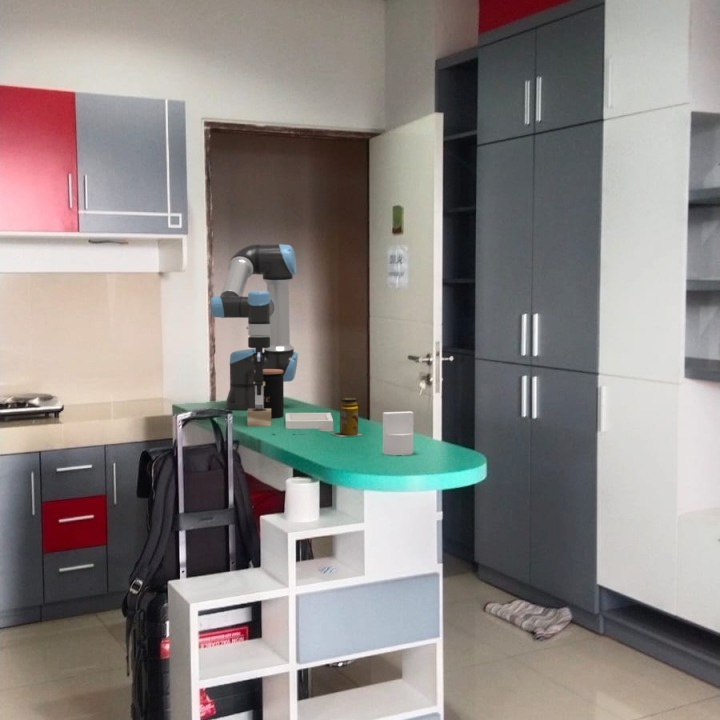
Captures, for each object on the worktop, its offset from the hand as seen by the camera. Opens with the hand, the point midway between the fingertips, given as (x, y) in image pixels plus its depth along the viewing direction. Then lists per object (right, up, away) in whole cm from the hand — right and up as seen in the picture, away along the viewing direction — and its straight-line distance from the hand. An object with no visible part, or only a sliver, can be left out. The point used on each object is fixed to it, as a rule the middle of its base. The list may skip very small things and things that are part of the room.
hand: (259, 403), depth 328 cm
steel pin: (0, -7, +1) cm, 7 cm away
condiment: (+30, -10, -14) cm, 35 cm away
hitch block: (0, -8, +1) cm, 8 cm away
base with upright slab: (+46, -13, -47) cm, 67 cm away
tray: (+17, -8, +2) cm, 19 cm away
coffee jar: (+1, -7, +20) cm, 21 cm away
